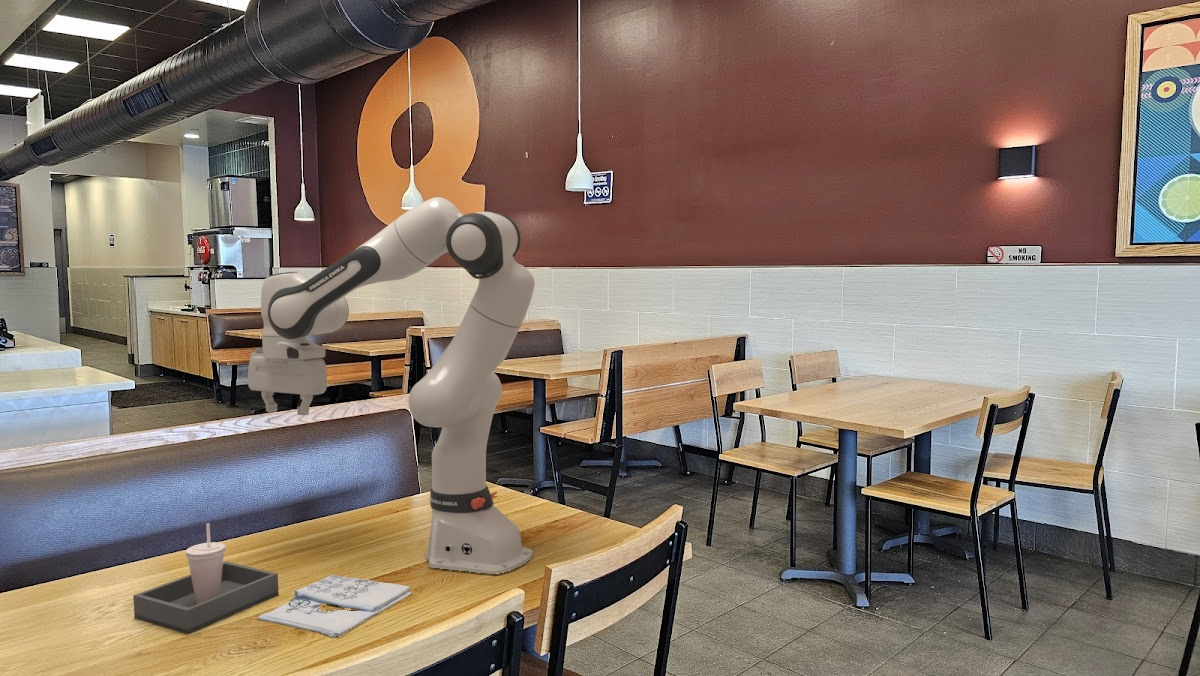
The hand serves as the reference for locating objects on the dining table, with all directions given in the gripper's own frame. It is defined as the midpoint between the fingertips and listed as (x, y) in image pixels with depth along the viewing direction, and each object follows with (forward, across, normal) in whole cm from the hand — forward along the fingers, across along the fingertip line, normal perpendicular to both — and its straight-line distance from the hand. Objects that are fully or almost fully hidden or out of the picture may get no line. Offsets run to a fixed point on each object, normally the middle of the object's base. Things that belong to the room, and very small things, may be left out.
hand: (287, 413), depth 168 cm
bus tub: (+29, +12, -29) cm, 43 cm away
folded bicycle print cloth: (+30, +32, -19) cm, 48 cm away
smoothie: (+28, +12, -29) cm, 42 cm away
